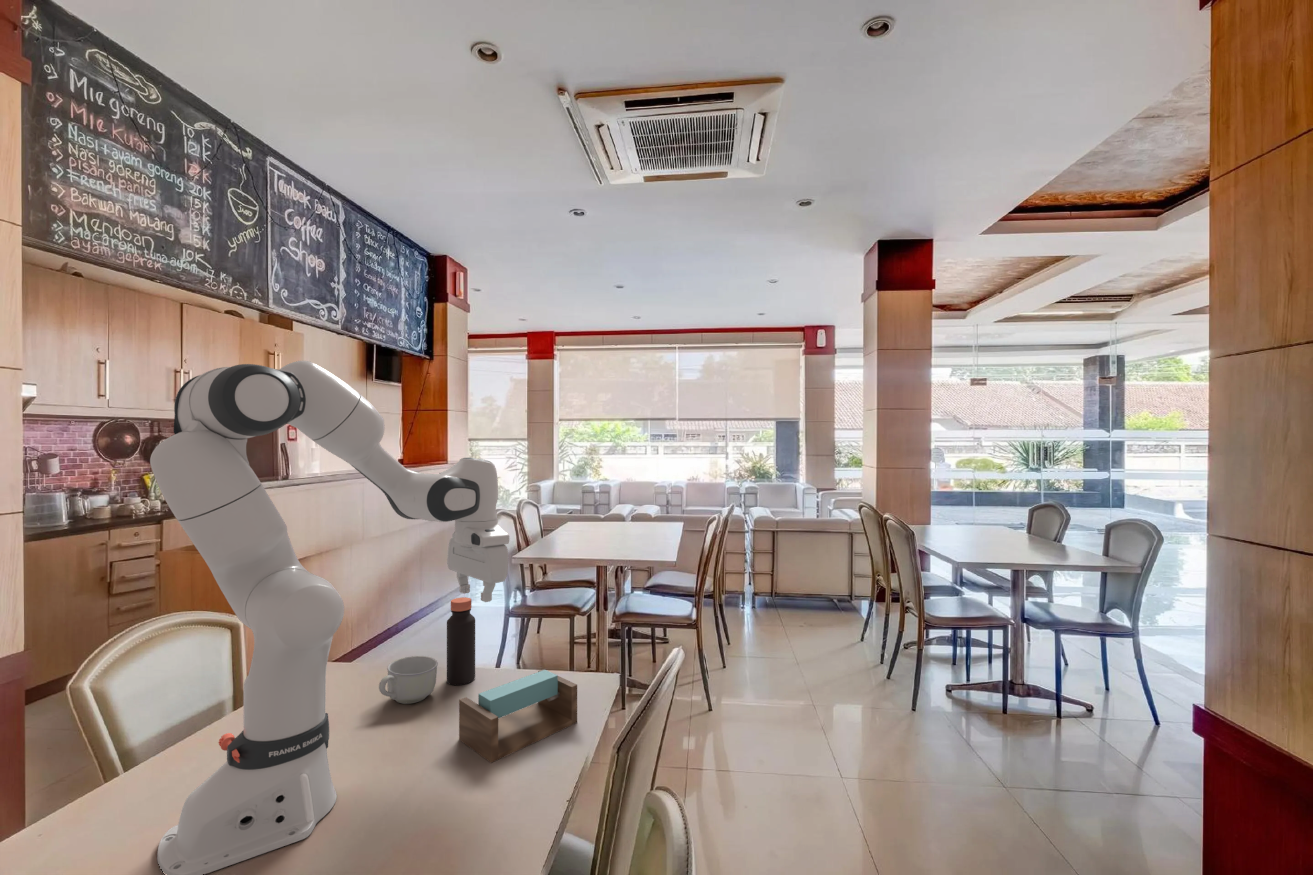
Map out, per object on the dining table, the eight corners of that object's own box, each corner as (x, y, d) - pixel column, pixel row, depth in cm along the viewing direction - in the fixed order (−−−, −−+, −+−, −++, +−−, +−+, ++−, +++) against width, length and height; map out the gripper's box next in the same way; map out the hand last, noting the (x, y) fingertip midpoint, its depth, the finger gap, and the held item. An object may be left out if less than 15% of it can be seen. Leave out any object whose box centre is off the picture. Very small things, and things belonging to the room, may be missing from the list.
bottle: (479, 674, 143) (479, 596, 143) (468, 686, 136) (468, 604, 137) (454, 673, 144) (454, 595, 144) (441, 685, 137) (441, 603, 137)
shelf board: (490, 721, 108) (490, 700, 108) (478, 713, 111) (478, 693, 111) (557, 693, 120) (557, 675, 120) (545, 687, 123) (545, 669, 123)
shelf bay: (491, 762, 104) (491, 719, 104) (459, 739, 112) (459, 699, 112) (577, 722, 119) (577, 684, 119) (543, 704, 127) (543, 669, 127)
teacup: (421, 683, 138) (421, 651, 138) (447, 695, 132) (447, 661, 132) (364, 705, 127) (364, 670, 127) (389, 719, 120) (389, 681, 120)
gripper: (440, 528, 126) (439, 590, 126) (486, 539, 112) (485, 609, 112) (466, 526, 131) (465, 585, 131) (514, 536, 117) (513, 603, 116)
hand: (475, 596), depth 121 cm, fingers open, 8 cm apart
